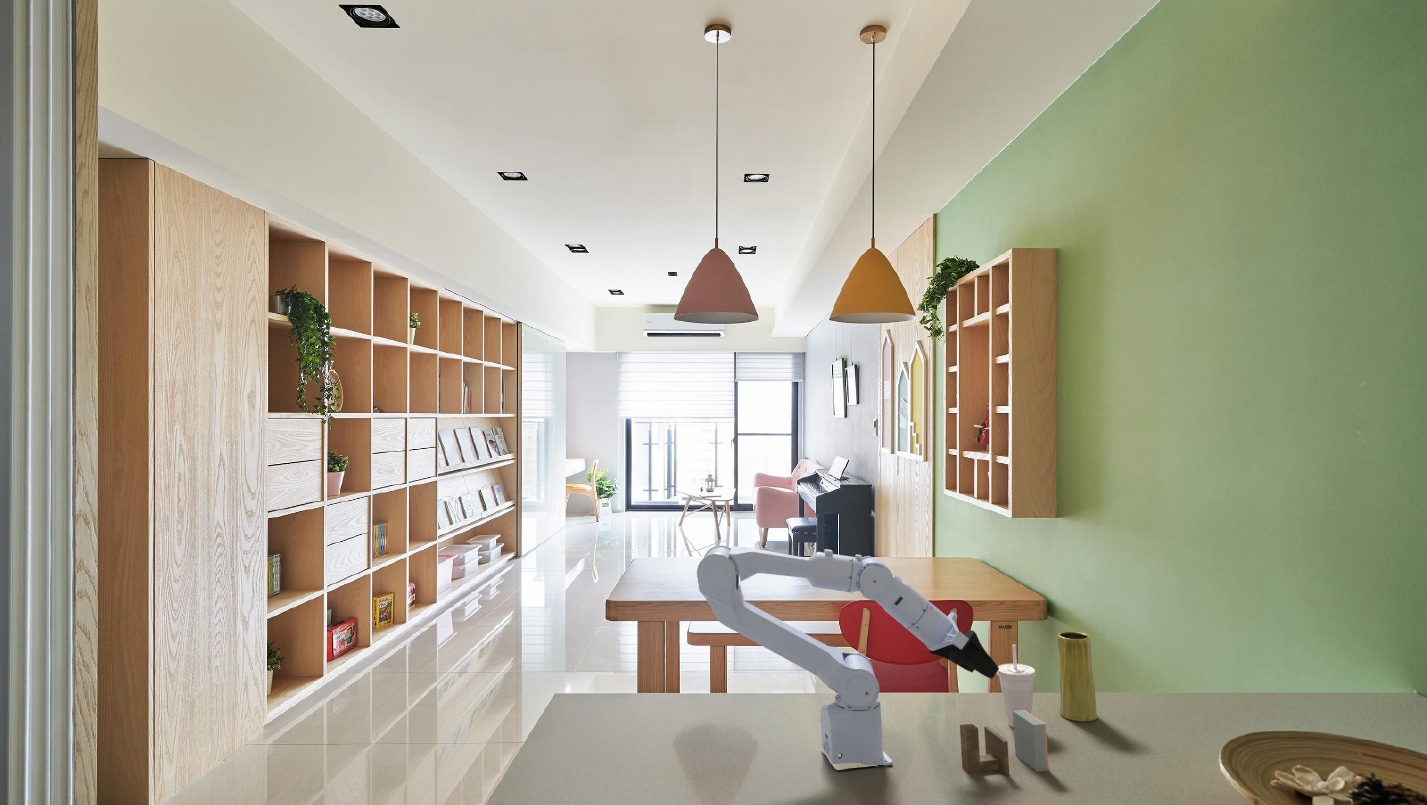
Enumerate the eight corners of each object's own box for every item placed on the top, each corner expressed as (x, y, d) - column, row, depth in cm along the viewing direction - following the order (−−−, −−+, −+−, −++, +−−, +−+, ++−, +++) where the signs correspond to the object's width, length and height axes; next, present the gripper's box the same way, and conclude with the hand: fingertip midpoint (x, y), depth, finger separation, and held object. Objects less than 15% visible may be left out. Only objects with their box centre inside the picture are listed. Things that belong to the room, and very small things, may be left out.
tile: (1036, 771, 115) (1033, 724, 116) (1015, 755, 121) (1012, 710, 122) (1048, 770, 116) (1045, 723, 116) (1027, 753, 122) (1024, 709, 122)
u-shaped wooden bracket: (974, 778, 114) (972, 734, 114) (956, 761, 120) (954, 719, 120) (1009, 774, 115) (1006, 730, 115) (989, 757, 121) (987, 716, 121)
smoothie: (997, 728, 132) (992, 647, 132) (1002, 715, 138) (997, 637, 138) (1037, 734, 129) (1032, 650, 129) (1040, 720, 135) (1035, 640, 135)
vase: (1062, 721, 134) (1057, 639, 134) (1057, 708, 140) (1052, 630, 140) (1100, 723, 132) (1095, 640, 133) (1094, 710, 138) (1089, 631, 139)
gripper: (947, 595, 117) (1018, 654, 115) (917, 593, 131) (980, 645, 129) (920, 633, 115) (992, 692, 114) (893, 626, 129) (957, 679, 128)
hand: (984, 670), depth 121 cm, fingers open, 7 cm apart
